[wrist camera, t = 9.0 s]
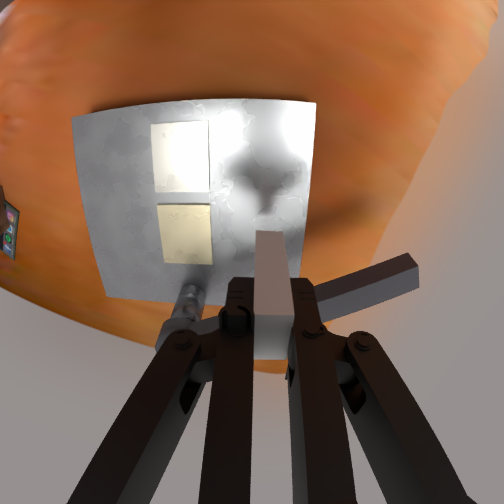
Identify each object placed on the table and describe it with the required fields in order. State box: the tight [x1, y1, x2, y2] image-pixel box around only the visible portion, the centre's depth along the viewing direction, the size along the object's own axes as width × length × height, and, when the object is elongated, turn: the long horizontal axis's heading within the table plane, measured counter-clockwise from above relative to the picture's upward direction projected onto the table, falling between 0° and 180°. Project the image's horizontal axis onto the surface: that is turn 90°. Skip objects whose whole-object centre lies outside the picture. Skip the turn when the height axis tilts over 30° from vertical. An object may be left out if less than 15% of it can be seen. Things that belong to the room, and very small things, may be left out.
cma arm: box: [155, 253, 419, 352], centre depth 18 cm, size 19×3×2 cm, turn 113°
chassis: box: [72, 99, 316, 322], centre depth 20 cm, size 17×18×7 cm
